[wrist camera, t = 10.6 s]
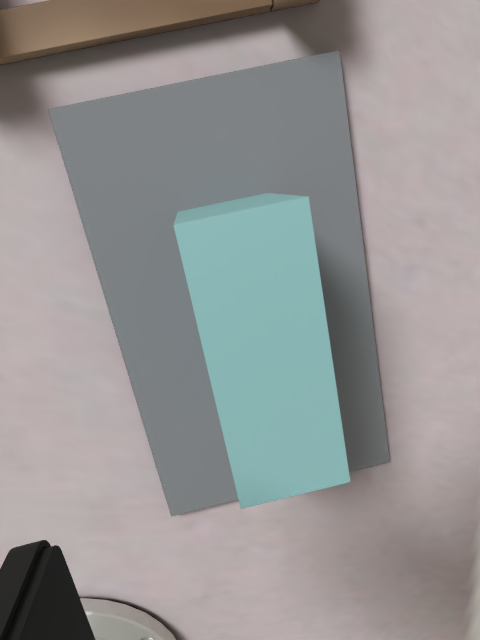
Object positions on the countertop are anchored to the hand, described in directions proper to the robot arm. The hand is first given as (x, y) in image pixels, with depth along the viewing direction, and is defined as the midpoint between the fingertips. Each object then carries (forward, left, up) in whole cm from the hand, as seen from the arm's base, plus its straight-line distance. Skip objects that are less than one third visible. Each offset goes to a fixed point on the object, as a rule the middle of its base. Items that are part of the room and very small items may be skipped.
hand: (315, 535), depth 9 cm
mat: (+1, 0, -14) cm, 14 cm away
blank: (+1, 0, -14) cm, 13 cm away
